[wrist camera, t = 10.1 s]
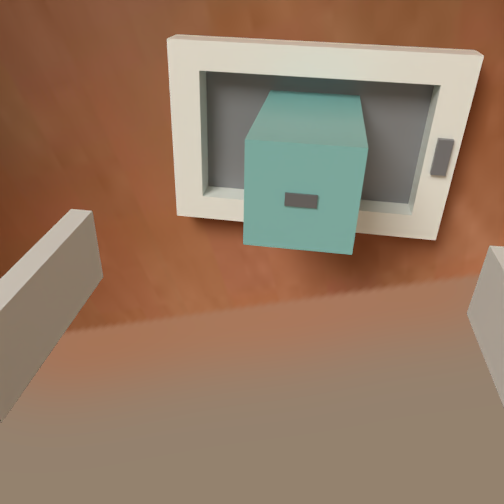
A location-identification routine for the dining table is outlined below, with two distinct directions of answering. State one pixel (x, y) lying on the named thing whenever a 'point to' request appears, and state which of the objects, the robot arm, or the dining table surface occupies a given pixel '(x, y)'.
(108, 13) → the dining table surface
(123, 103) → the dining table surface
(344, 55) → the white shallow tray
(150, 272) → the dining table surface
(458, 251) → the dining table surface
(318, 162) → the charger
